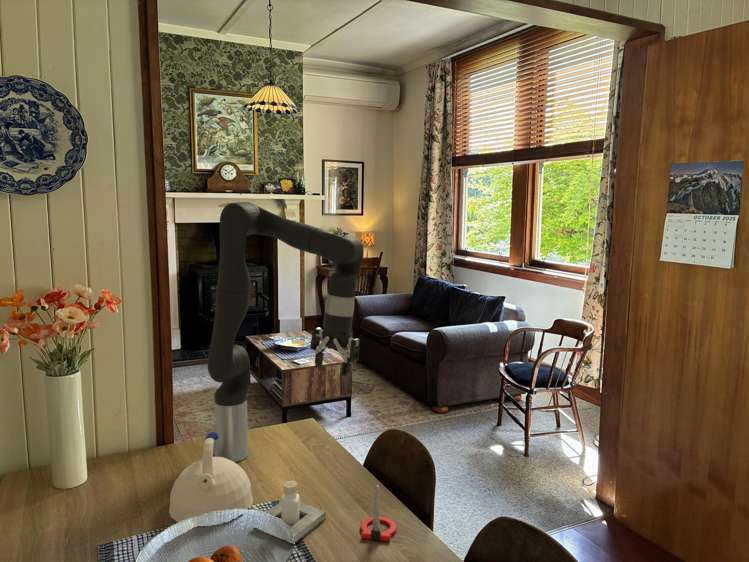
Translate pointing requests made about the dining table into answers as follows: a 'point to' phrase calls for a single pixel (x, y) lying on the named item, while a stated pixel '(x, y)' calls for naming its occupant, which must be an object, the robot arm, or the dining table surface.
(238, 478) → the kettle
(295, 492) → the salt shaker
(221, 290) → the robot arm
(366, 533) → the tow hook
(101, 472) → the dining table surface
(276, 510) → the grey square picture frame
